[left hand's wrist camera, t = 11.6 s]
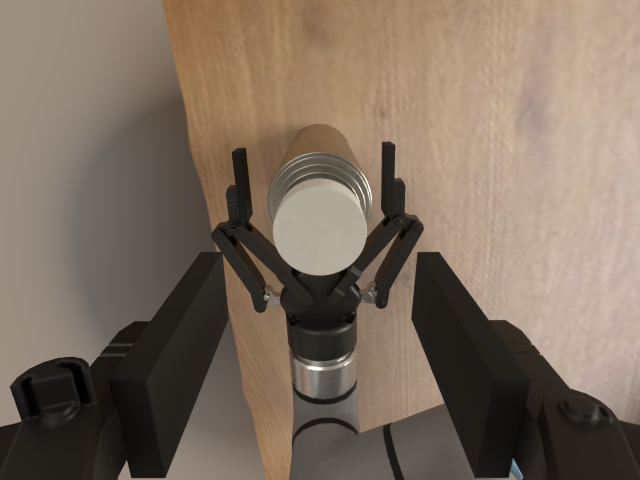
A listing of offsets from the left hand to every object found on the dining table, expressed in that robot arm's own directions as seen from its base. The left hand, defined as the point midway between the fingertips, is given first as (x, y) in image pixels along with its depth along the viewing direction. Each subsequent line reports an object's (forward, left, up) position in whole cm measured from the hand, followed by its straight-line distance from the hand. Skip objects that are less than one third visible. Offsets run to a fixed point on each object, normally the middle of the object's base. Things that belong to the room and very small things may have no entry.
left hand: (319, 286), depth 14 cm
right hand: (-2, -1, -24) cm, 24 cm away
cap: (0, 0, -6) cm, 6 cm away
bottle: (0, 0, -30) cm, 30 cm away
